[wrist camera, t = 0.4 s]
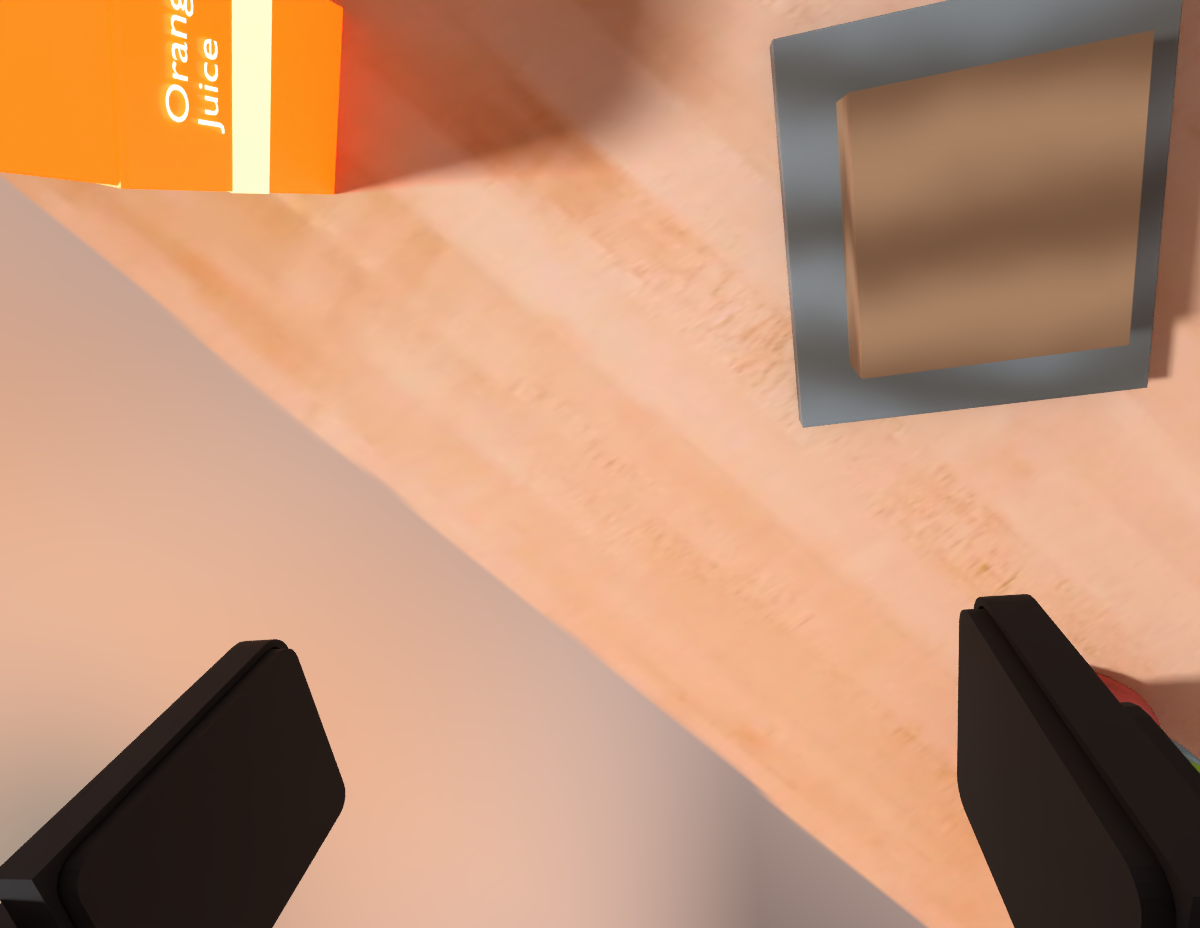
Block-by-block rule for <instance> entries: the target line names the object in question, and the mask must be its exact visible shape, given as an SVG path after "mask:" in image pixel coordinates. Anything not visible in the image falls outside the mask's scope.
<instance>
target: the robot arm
mask: <svg viewBox="0 0 1200 928" xmlns="http://www.w3.org/2000/svg"><path fill="white" fill-rule="evenodd" d="M957 781H958V788H959V793H960V797H961V801H962V804H963V807H964V810H965V812H966V814H967V817H968V819H969V821H970V824H971V826H972V828H973V831H974V833H975V836H976V838H977V840H978V843H979V845H980V847H981V850H982V852H983V854H984V857H985V859H986V861H987V864H988V866H989V868H990V871H991V873H992V876H993V878H994V880H995V883H996V885H997V887H998V890H999V892H1000V894H1001V897H1002V899H1003V901H1004V904H1005V906H1006V908H1007V911H1008V913H1009V916H1010V918H1011V920H1012V923H1013V925H1014V927H1015V928H1200V773H1199V772H1198V771H1197V769H1196V768H1195V767H1194V766H1193V765H1192V764H1191V763H1190V761H1189V760H1188V759H1187V758H1186V757H1185V756H1184V754H1183V753H1182V752H1181V751H1180V750H1179V749H1178V747H1177V746H1176V745H1175V744H1174V743H1173V742H1172V741H1171V739H1170V738H1169V737H1168V736H1167V735H1166V734H1165V732H1164V731H1163V730H1162V729H1161V728H1160V727H1159V725H1158V724H1157V723H1156V722H1155V721H1154V720H1153V718H1152V717H1151V716H1150V715H1149V714H1148V713H1147V712H1145V711H1144V710H1143V709H1142V708H1141V707H1140V706H1138V705H1136V704H1133V703H1131V702H1119V701H1118V699H1117V698H1116V697H1115V696H1114V695H1113V693H1112V692H1111V691H1110V690H1109V689H1108V687H1107V686H1106V685H1105V684H1104V682H1103V681H1102V680H1101V679H1100V678H1099V676H1098V675H1097V674H1096V673H1095V672H1094V670H1093V669H1092V668H1091V667H1090V666H1089V664H1088V663H1087V662H1086V661H1085V659H1084V658H1083V657H1082V656H1081V655H1080V653H1079V652H1078V651H1077V650H1076V649H1075V647H1074V646H1073V645H1072V644H1071V643H1070V641H1069V640H1068V639H1067V638H1066V636H1065V635H1064V634H1063V633H1062V632H1061V630H1060V629H1059V628H1058V627H1057V626H1056V624H1055V623H1054V622H1053V621H1052V620H1051V618H1050V617H1049V616H1048V615H1047V613H1046V612H1045V611H1044V610H1043V609H1042V607H1041V606H1040V605H1039V604H1038V603H1037V601H1036V600H1035V599H1034V598H1033V597H1032V596H1031V595H1027V594H1021V595H1004V596H987V597H979V598H977V599H976V602H975V604H974V609H967V610H962V611H961V613H960V619H959V678H958V750H957ZM344 801H345V787H344V783H343V780H342V777H341V774H340V772H339V769H338V767H337V763H336V761H335V758H334V755H333V752H332V750H331V747H330V744H329V742H328V739H327V736H326V733H325V731H324V728H323V725H322V722H321V720H320V717H319V714H318V711H317V709H316V706H315V703H314V700H313V698H312V695H311V692H310V689H309V687H308V684H307V681H306V678H305V676H304V673H303V670H302V667H301V665H300V662H299V659H298V657H297V655H296V653H295V652H294V651H293V650H292V649H288V647H287V645H286V644H285V643H284V642H283V641H280V640H277V639H273V640H257V641H244V642H239V643H238V644H236V645H235V646H233V647H232V648H231V649H230V650H229V651H228V652H227V653H226V654H225V655H224V656H223V657H222V658H221V659H220V660H219V661H218V662H217V663H215V664H214V665H213V666H212V668H210V669H209V670H208V671H207V672H206V673H205V674H204V675H203V676H202V677H201V678H200V679H199V680H197V681H196V682H195V683H194V684H193V685H192V686H191V687H190V688H189V689H188V690H187V691H186V692H185V693H184V694H183V695H182V696H180V698H178V699H177V700H176V701H175V702H174V703H173V704H172V705H171V706H170V707H169V708H168V709H167V710H166V711H165V712H164V713H162V715H160V716H159V717H158V718H157V719H156V720H155V721H154V722H153V723H152V724H151V725H150V726H149V727H148V728H147V729H146V730H145V731H143V732H142V733H141V734H140V735H139V736H138V737H137V738H136V739H135V740H134V741H133V742H132V743H131V744H130V745H129V746H127V747H126V748H125V749H124V750H123V751H122V752H121V753H120V754H119V755H118V756H117V757H116V758H115V759H114V760H113V761H112V762H111V763H109V764H108V765H107V766H106V767H105V768H104V769H103V770H102V771H101V772H100V773H99V774H98V775H97V776H96V777H95V778H94V779H93V780H91V781H90V782H89V783H88V784H87V785H86V786H85V787H84V788H83V789H82V790H81V791H80V792H79V793H78V794H77V795H76V796H75V797H73V798H72V800H70V801H69V802H68V803H67V804H66V805H65V806H64V807H63V808H62V809H61V810H60V811H59V812H58V813H57V814H56V815H55V816H53V818H51V819H50V820H49V821H48V822H47V823H46V824H45V825H44V826H43V827H42V828H41V829H40V830H38V831H37V832H36V833H35V834H34V835H33V836H32V837H31V838H30V839H29V840H28V841H27V842H26V843H25V844H24V845H23V846H22V847H20V849H18V850H17V851H16V852H15V853H14V854H13V855H12V856H11V857H10V858H9V859H8V860H7V861H6V862H5V863H4V864H2V865H1V866H0V901H1V902H2V903H1V904H0V928H272V927H273V926H274V924H275V922H276V920H277V919H278V917H279V915H280V914H281V912H282V911H283V909H284V907H285V905H286V904H287V902H288V900H289V899H290V897H291V895H292V894H293V892H294V890H295V888H296V887H297V885H298V884H299V882H300V880H301V879H302V877H303V875H304V874H305V872H306V870H307V869H308V867H309V865H310V864H311V862H312V860H313V859H314V857H315V855H316V853H317V852H318V850H319V848H320V847H321V845H322V843H323V842H324V840H325V838H326V837H327V835H328V833H329V831H330V830H331V828H332V827H333V825H334V823H335V822H336V820H337V818H338V816H339V815H340V813H341V811H342V809H343V805H344Z"/></svg>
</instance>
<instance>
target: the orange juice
mask: <svg viewBox="0 0 1200 928" xmlns="http://www.w3.org/2000/svg"><path fill="white" fill-rule="evenodd" d="M342 19H343V8H342V7H341V6H339V5H337V4H335V3H333V2H331V1H330V0H0V172H6V173H15V174H23V175H32V176H40V177H49V178H57V179H66V180H74V181H83V182H91V183H99V184H103V185H108V186H112V187H117V188H122V189H157V190H193V191H227V192H232V193H259V194H269V193H300V194H334V186H335V166H336V145H337V124H338V103H339V82H340V61H341V40H342Z"/></svg>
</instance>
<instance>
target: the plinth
mask: <svg viewBox="0 0 1200 928" xmlns="http://www.w3.org/2000/svg"><path fill="white" fill-rule="evenodd" d="M1181 8H1182V0H948V1H943V2H939V3H934V4H930V5H925V6H921V7H916V8H912V9H907V10H903V11H898V12H894V13H889V14H885V15H880V16H876V17H871V18H867V19H863V20H858V21H854V22H849V23H845V24H840V25H836V26H831V27H827V28H822V29H818V30H813V31H809V32H804V33H800V34H795V35H791V36H786V37H782V38H777V39H773V40H772V43H771V45H770V54H771V67H772V79H773V92H774V104H775V117H776V130H777V142H778V155H779V168H780V180H781V193H782V206H783V218H784V231H785V243H786V256H787V269H788V281H789V294H790V307H791V319H792V332H793V345H794V357H795V370H796V382H797V395H798V408H799V420H800V422H801V424H802V426H803V428H804V427H813V426H821V425H830V424H838V423H847V422H856V421H864V420H873V419H881V418H890V417H898V416H907V415H916V414H924V413H933V412H941V411H950V410H958V409H967V408H976V407H984V406H993V405H1001V404H1010V403H1018V402H1027V401H1036V400H1044V399H1053V398H1061V397H1070V396H1078V395H1087V394H1096V393H1104V392H1113V391H1121V390H1130V389H1138V388H1147V384H1148V373H1149V362H1150V351H1151V340H1152V329H1153V317H1154V306H1155V295H1156V284H1157V273H1158V262H1159V251H1160V240H1161V229H1162V218H1163V207H1164V196H1165V185H1166V174H1167V163H1168V152H1169V141H1170V130H1171V119H1172V108H1173V97H1174V86H1175V75H1176V64H1177V53H1178V41H1179V30H1180V19H1181Z"/></svg>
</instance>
